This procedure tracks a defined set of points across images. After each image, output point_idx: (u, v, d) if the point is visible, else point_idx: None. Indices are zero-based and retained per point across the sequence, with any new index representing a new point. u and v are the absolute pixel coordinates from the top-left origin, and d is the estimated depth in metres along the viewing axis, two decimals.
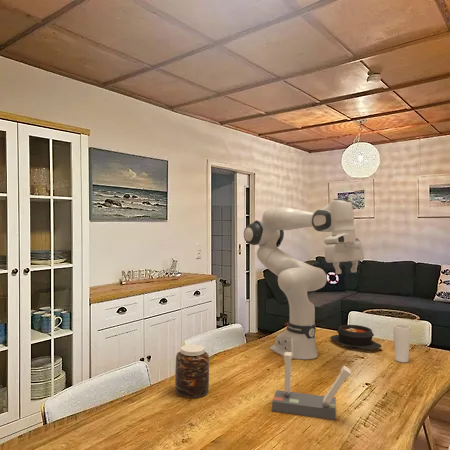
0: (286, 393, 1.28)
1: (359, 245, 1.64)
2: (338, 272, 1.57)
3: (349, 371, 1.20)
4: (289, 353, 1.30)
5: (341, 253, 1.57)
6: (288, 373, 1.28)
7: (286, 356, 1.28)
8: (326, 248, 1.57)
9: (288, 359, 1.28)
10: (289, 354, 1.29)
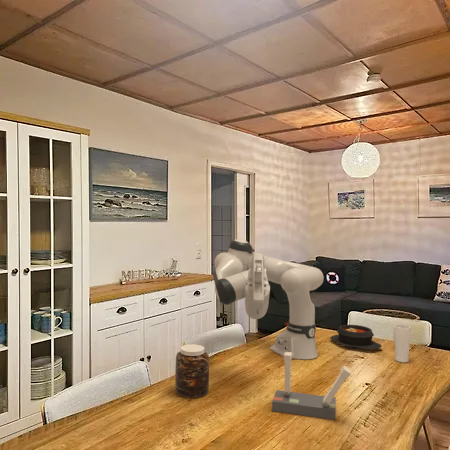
0: (286, 393, 1.28)
1: None
2: None
3: (349, 371, 1.20)
4: (289, 353, 1.30)
5: None
6: (288, 373, 1.28)
7: (286, 356, 1.28)
8: None
9: (288, 359, 1.28)
10: (289, 354, 1.29)
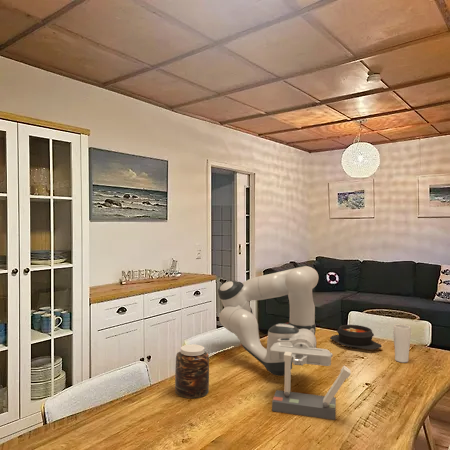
0: (286, 393, 1.28)
1: (322, 349, 1.36)
2: None
3: (349, 371, 1.20)
4: (289, 353, 1.30)
5: (287, 348, 1.37)
6: (288, 373, 1.28)
7: (286, 356, 1.28)
8: None
9: (288, 359, 1.28)
10: (289, 354, 1.29)
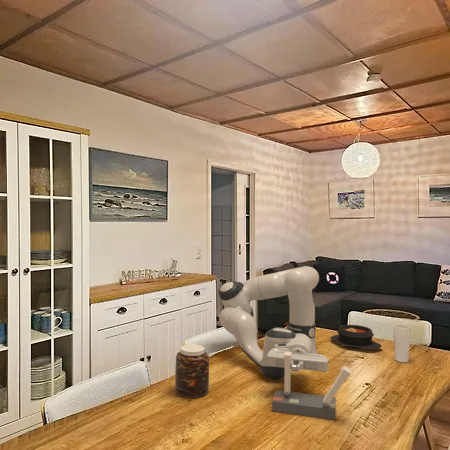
0: (286, 393, 1.28)
1: (319, 354, 1.37)
2: None
3: (349, 371, 1.20)
4: (289, 353, 1.30)
5: None
6: (288, 373, 1.28)
7: (286, 356, 1.28)
8: None
9: (288, 359, 1.28)
10: (288, 354, 1.29)
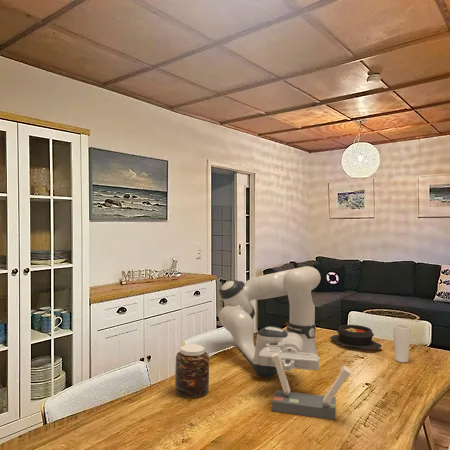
0: (286, 393, 1.28)
1: (310, 353, 1.38)
2: (283, 365, 1.30)
3: (349, 371, 1.20)
4: (276, 353, 1.31)
5: None
6: (281, 373, 1.29)
7: (274, 357, 1.29)
8: None
9: (277, 359, 1.29)
10: (276, 354, 1.30)
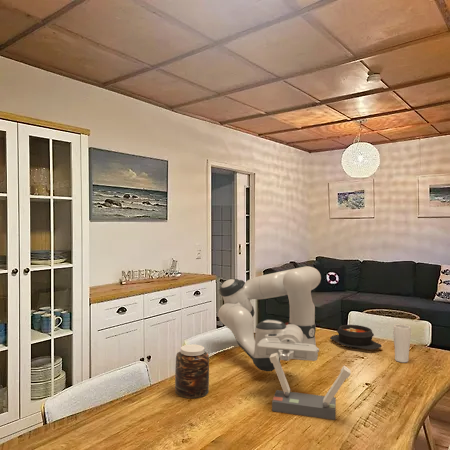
0: (286, 393, 1.28)
1: (309, 344, 1.38)
2: None
3: (349, 371, 1.20)
4: (274, 354, 1.31)
5: (275, 344, 1.38)
6: (280, 373, 1.29)
7: (272, 358, 1.29)
8: None
9: (275, 360, 1.29)
10: (274, 355, 1.30)
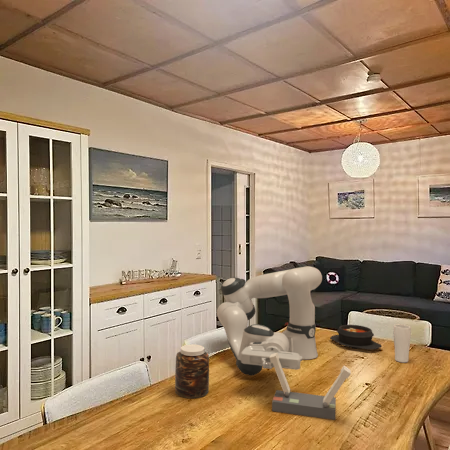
0: (286, 393, 1.28)
1: (293, 353, 1.39)
2: (263, 363, 1.31)
3: (349, 371, 1.20)
4: (274, 354, 1.31)
5: (259, 352, 1.39)
6: (280, 373, 1.29)
7: (272, 358, 1.29)
8: None
9: (274, 360, 1.29)
10: (274, 355, 1.30)
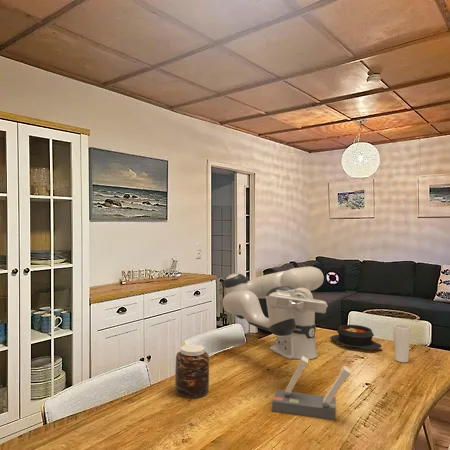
0: (286, 393, 1.28)
1: (319, 300, 1.43)
2: (290, 303, 1.35)
3: (349, 371, 1.20)
4: (306, 359, 1.29)
5: (285, 296, 1.43)
6: (297, 377, 1.27)
7: (303, 361, 1.27)
8: None
9: (303, 365, 1.27)
10: (306, 360, 1.28)
